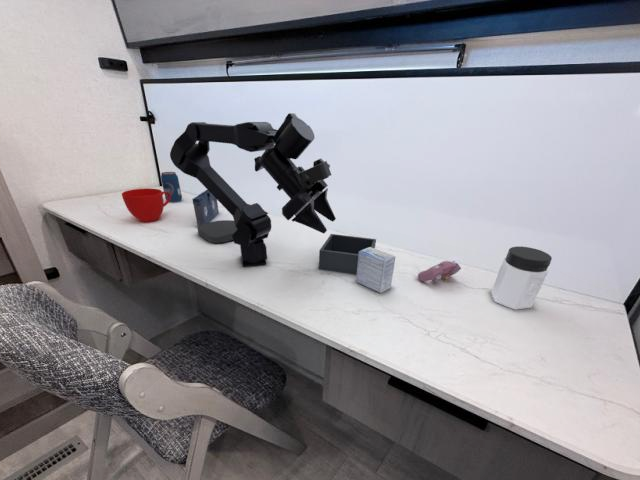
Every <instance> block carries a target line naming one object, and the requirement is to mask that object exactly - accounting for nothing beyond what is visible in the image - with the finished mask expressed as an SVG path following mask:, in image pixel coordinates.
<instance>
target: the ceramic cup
mask: <svg viewBox="0 0 640 480" xmlns="http://www.w3.org/2000/svg"><path fill="white" fill-rule="evenodd" d="M164 193H167V195H168V199H167V200H166V201H165V202H164V196H163V195H165V194H164ZM121 197H122V200H123V203H124V205H125V207H126V209H127V210H128V212H129V213H130V215H132V216H133V218H135V219H136V220H138V221H139V222H141V223H152V222H156V221H158V220H160V218H161V216H162V214H163V212H164V207H166V206H167V205H168V204H169V203H170V202H169V201H170V198H171V197H170V194H169V193H168V192H167V191H164V190H163V191H162V190H161V189H159V188H150V187H149V188H135V189H128V190H125V191H123V192H122V193H121Z"/></svg>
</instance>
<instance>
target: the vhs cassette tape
mask: <svg viewBox="0 0 640 480" xmlns="http://www.w3.org/2000/svg"><path fill="white" fill-rule="evenodd" d="M192 205H193V210H194V215H195V220H196V224H197V228H198V227H199V226H201V225H203V224H206V223H209V222H213V220H214V219H215V218H216V217H217V216H218V215H219V213H220V211H219V205H218V200H217V199H216V198H215V197H214V196H213V195H212V194H211V193H210V192H209V191H208V190H207V189H206V190H204V191H202V192H201V193H199V194H198V195H197V196H194V198H192Z"/></svg>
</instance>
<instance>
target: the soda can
mask: <svg viewBox="0 0 640 480" xmlns="http://www.w3.org/2000/svg"><path fill="white" fill-rule="evenodd" d="M160 174H161V175H160V180H161V185H162V189H163V191H167V192H168V193H169V194H170V197H171V198H170V201H169V203H179V202H182V199H183V194H182V191H181V185H180V181H179V176H178V175H177V173H176V171H164V172H163V171H162V172H161V173H160ZM163 195H164V198H165V200H166V201H167V199H168V195H167V193H164V194H163Z"/></svg>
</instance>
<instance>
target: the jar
mask: <svg viewBox="0 0 640 480" xmlns="http://www.w3.org/2000/svg"><path fill="white" fill-rule="evenodd" d="M552 260H553V258H552V255H550V254H549V253H547V252H545V251H543V250H541V249H537V248H533V247H528V246H520V245H519V246H512V247H510V248H509V249H508V252H507V253H506V256H505V257H503V260H502V263H501V264H500V267H499V270H498V273H497V276H496V278H495V280H494V284H493V286H492V288H491V291H490V293H491V296H492V299H493V302H494V303H497V304H499V305H501V306H504V307H507V308H509V309H511V310H522V309H523V310H524V309H530V308H532V307H533V305H534V304H535V303H534V302H535V301H536V299H537V297H538V295H539V293H540V290H541V288H542V286H543V284H544V282H545V280H546V278H547V276H548V274H549V270H548V268H549V266H550V265H551V262H552Z"/></svg>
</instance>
